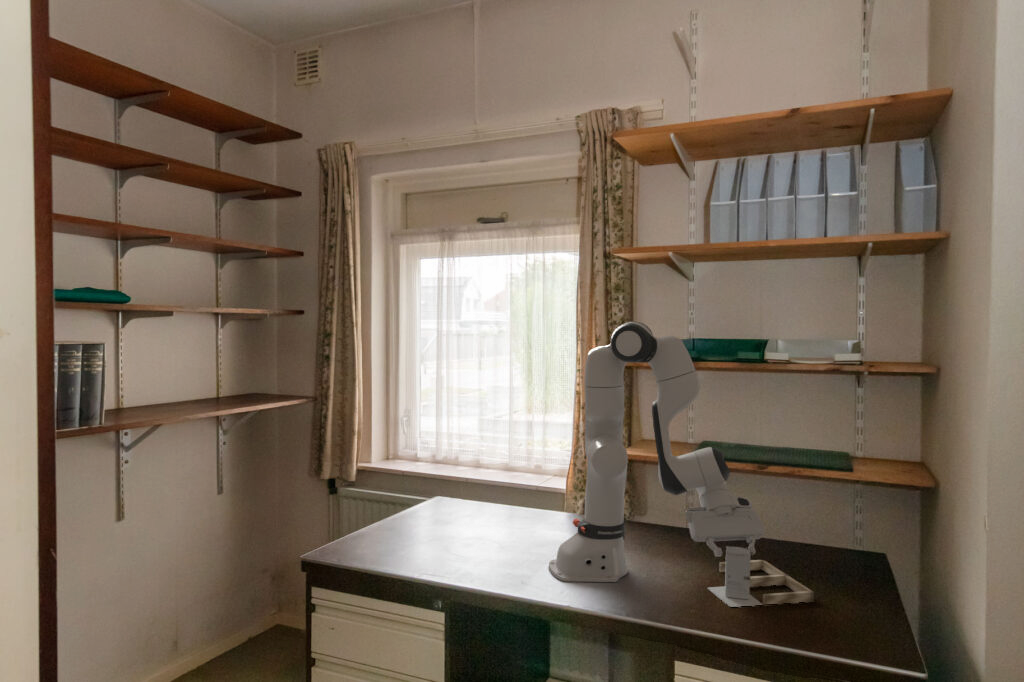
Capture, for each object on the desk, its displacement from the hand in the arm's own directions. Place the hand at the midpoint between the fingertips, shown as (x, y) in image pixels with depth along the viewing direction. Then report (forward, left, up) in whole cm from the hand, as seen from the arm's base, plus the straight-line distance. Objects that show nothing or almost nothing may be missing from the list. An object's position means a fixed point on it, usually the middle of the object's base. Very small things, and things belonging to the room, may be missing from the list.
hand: (735, 554), depth 174 cm
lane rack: (+12, +5, -11) cm, 17 cm away
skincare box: (+1, 0, -11) cm, 11 cm away
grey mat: (0, 0, -11) cm, 11 cm away
